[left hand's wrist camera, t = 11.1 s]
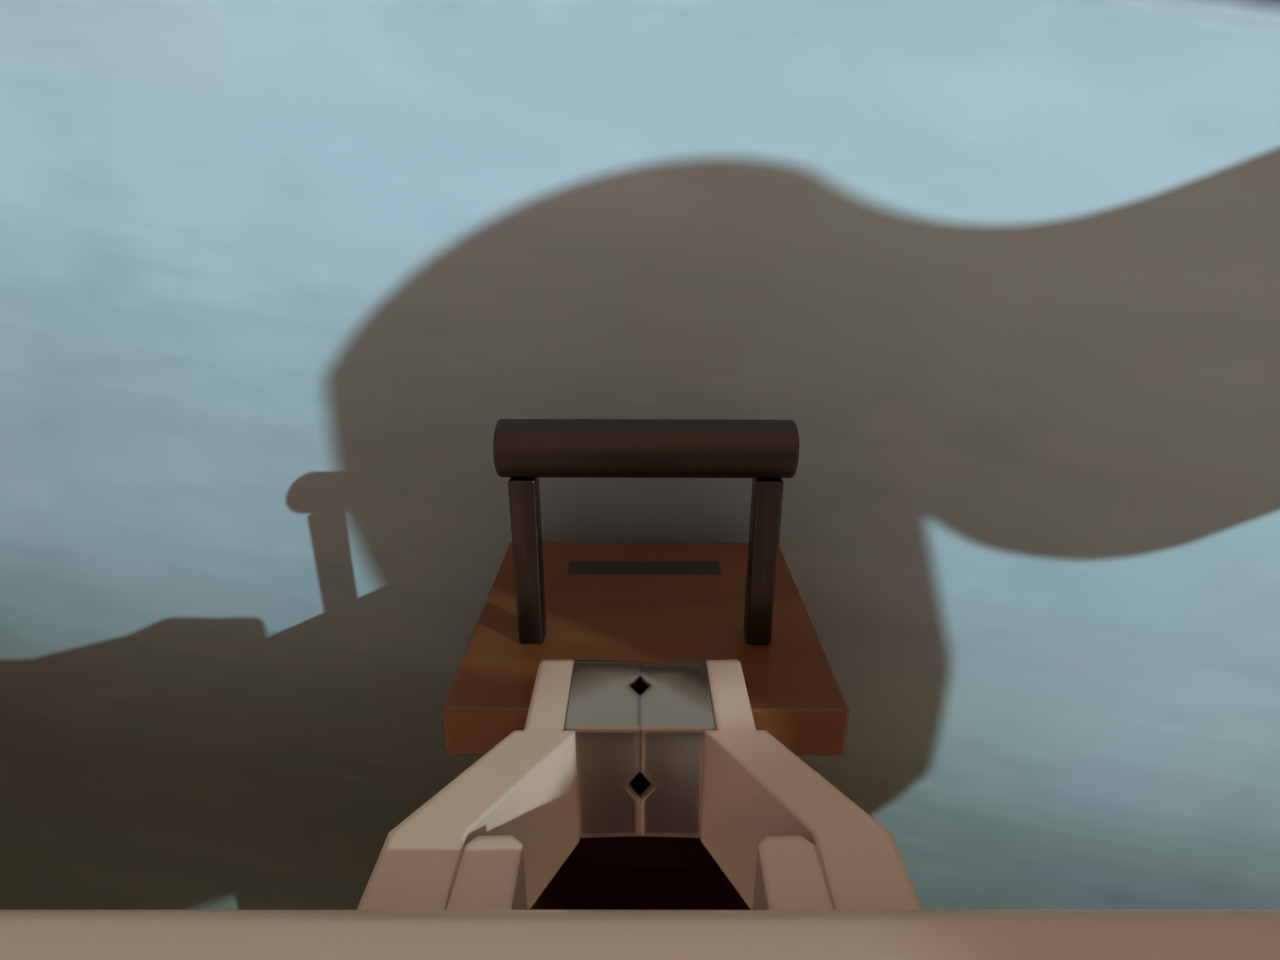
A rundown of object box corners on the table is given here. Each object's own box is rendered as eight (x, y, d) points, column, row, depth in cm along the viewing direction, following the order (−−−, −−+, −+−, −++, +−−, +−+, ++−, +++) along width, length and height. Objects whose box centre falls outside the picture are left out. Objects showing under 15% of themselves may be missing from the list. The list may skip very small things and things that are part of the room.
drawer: (497, 369, 20) (411, 459, 12) (791, 370, 20) (882, 460, 12) (531, 859, 26) (487, 1111, 19) (753, 859, 26) (798, 1112, 19)
